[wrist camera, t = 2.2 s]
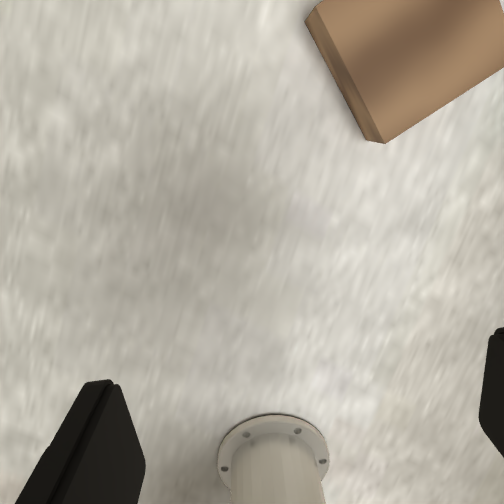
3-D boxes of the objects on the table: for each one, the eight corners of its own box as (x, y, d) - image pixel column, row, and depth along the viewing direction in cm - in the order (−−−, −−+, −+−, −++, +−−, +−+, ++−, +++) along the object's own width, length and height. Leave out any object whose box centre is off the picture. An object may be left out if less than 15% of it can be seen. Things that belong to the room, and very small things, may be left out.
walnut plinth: (481, 65, 28) (518, 57, 24) (366, 140, 30) (385, 143, 26) (429, -71, 25) (463, -105, 21) (304, 21, 26) (315, 6, 23)
